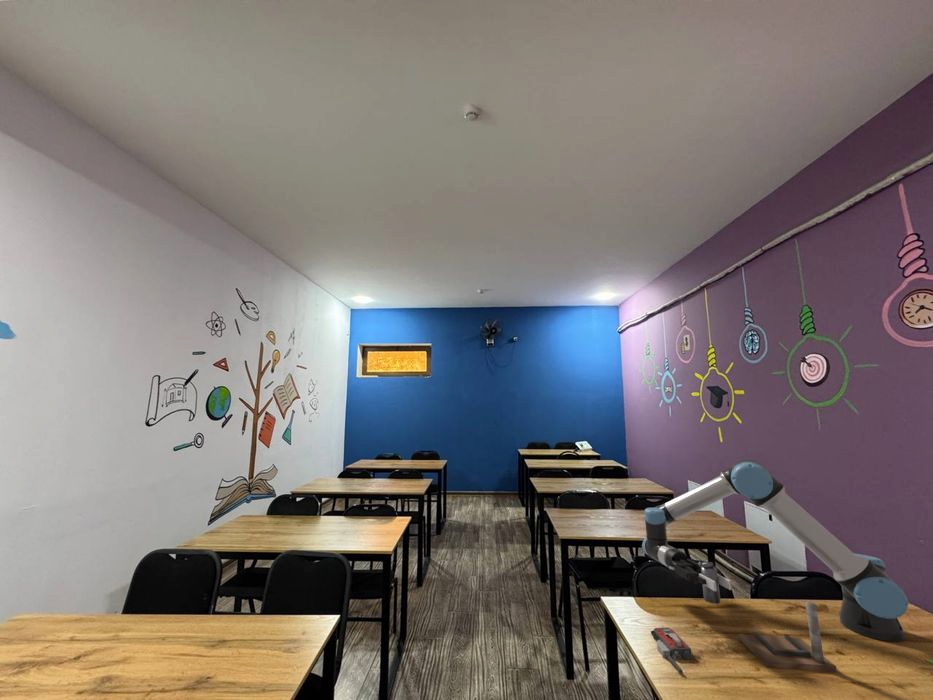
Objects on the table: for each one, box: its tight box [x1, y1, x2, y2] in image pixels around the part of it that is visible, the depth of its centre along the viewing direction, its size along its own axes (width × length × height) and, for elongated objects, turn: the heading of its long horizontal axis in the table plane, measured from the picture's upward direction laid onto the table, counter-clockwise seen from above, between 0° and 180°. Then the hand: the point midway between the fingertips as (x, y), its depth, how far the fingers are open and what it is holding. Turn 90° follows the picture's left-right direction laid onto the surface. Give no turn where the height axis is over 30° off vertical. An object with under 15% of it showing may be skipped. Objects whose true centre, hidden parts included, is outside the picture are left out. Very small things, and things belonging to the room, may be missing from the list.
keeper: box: [738, 601, 838, 673], centre depth 117 cm, size 19×14×16 cm
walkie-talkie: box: [650, 627, 693, 674], centre depth 117 cm, size 9×4×20 cm
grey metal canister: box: [701, 561, 721, 605], centre depth 127 cm, size 5×5×12 cm
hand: (722, 585), depth 122 cm, fingers closed on grey metal canister, 5 cm apart
